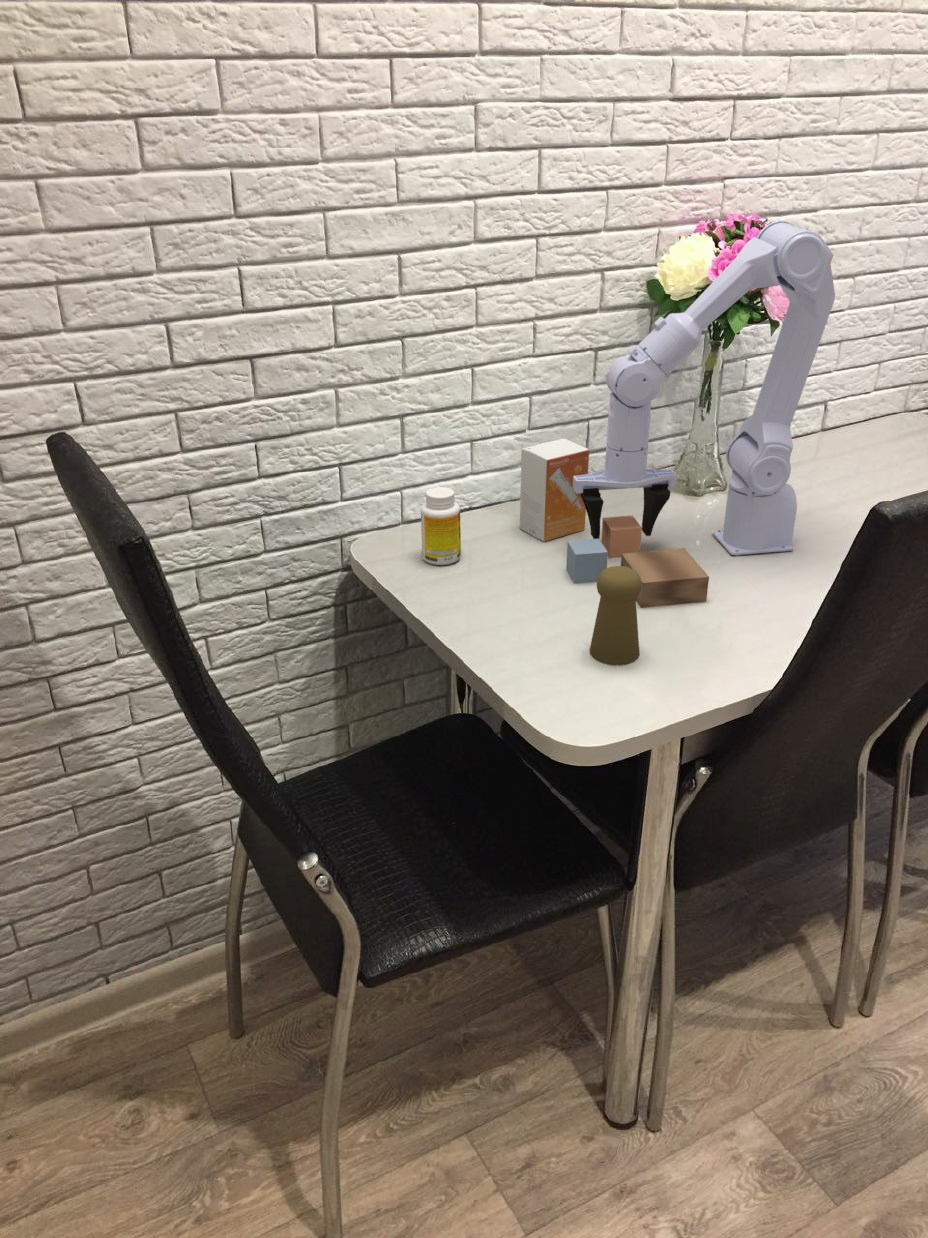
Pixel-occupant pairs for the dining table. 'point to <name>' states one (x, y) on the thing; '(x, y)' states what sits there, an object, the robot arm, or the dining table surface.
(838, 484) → the dining table surface
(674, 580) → the walnut block
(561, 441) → the small box
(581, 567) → the slate-blue cube
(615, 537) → the terracotta cube
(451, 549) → the supplement bottle
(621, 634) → the olive game pawn
